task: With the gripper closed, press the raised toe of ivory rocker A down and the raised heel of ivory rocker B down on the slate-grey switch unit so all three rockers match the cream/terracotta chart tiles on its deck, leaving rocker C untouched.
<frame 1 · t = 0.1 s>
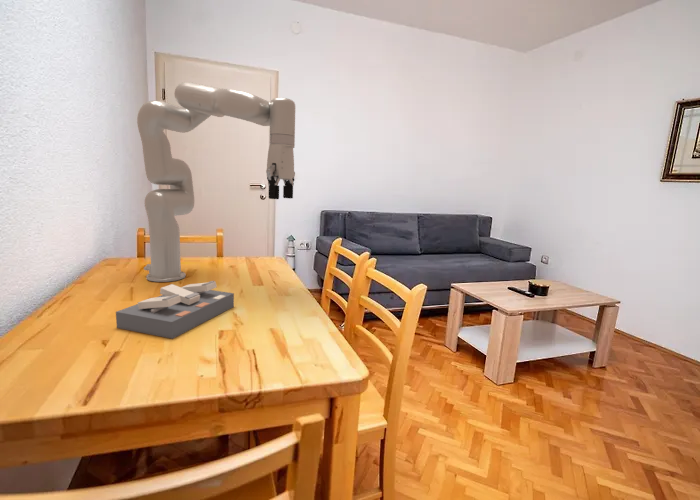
hand: (281, 198, 115), 31 cm above the table, fingers open, 9 cm apart
rocker C: (159, 301, 89), point 6 cm above the table, hinge at -12.0°
rocker B: (180, 293, 96), point 6 cm above the table, hinge at 12.0°
rocker A: (198, 287, 102), point 6 cm above the table, hinge at -12.0°
switch unit: (180, 316, 97), on the table
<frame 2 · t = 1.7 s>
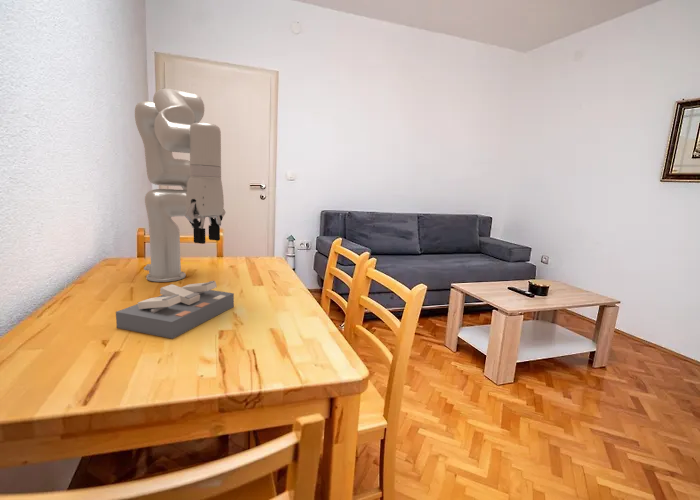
hand: (207, 240, 99), 19 cm above the table, fingers open, 5 cm apart
nothing on the table moved.
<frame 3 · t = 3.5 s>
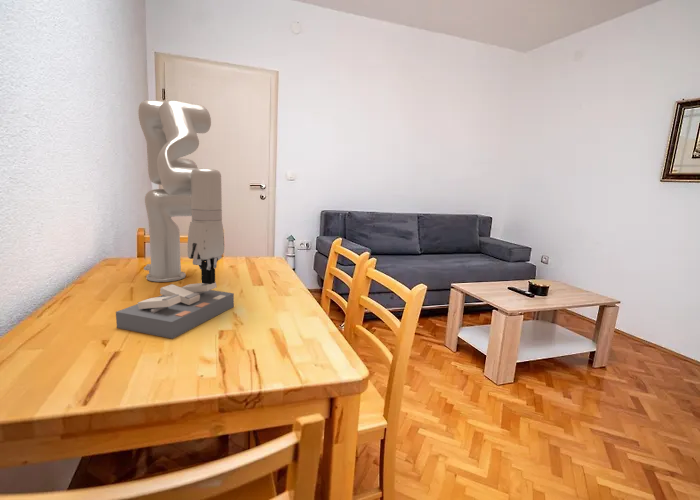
hand: (208, 282, 101), 8 cm above the table, fingers closed
rocker A: (198, 287, 102), point 6 cm above the table, hinge at -11.9°, touching gripper
everything else where it was.
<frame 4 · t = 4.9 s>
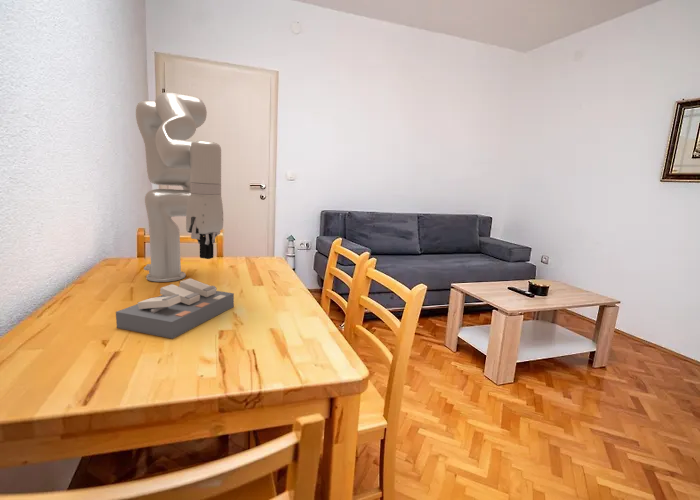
hand: (206, 257, 100), 15 cm above the table, fingers closed
rocker A: (198, 287, 102), point 6 cm above the table, hinge at 11.6°
everything else where it was.
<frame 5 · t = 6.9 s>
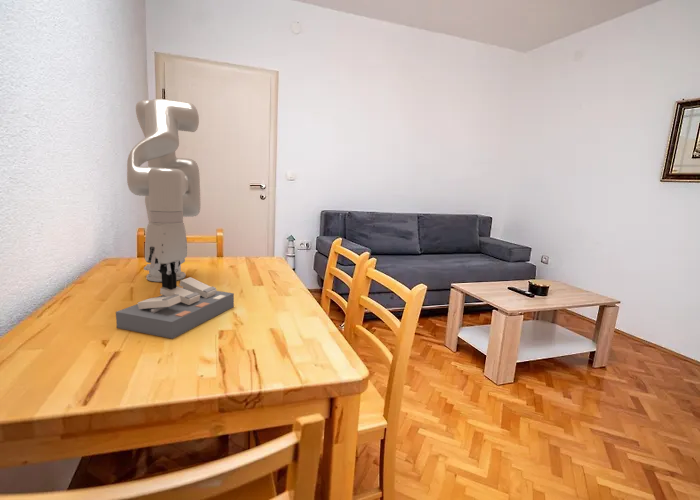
hand: (169, 287, 96), 7 cm above the table, fingers closed
rocker B: (180, 293, 96), point 6 cm above the table, hinge at 11.7°, touching gripper
rocker A: (198, 287, 102), point 6 cm above the table, hinge at 16.2°, touching switch unit
everything else where it was.
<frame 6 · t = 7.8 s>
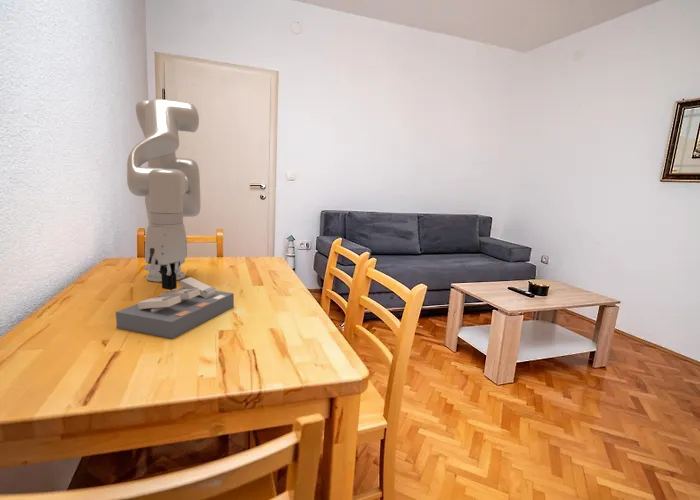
hand: (169, 288, 97), 7 cm above the table, fingers closed
rocker B: (180, 293, 96), point 6 cm above the table, hinge at -10.1°
everything else where it was.
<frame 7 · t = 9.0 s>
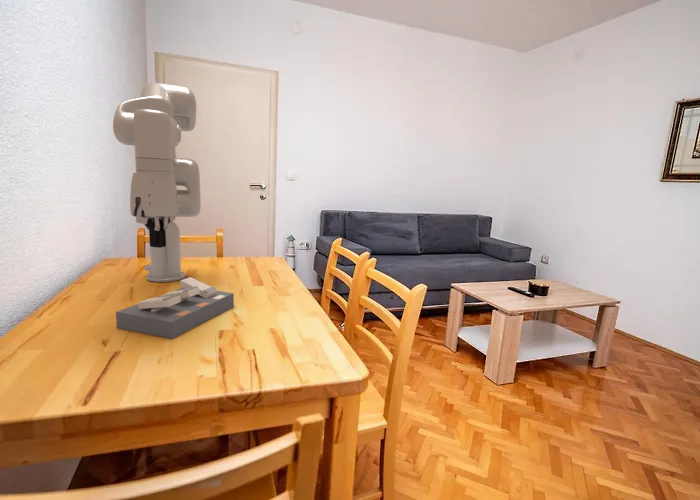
hand: (158, 246, 87), 20 cm above the table, fingers closed
rocker B: (180, 293, 96), point 6 cm above the table, hinge at -16.0°, touching switch unit
everything else where it was.
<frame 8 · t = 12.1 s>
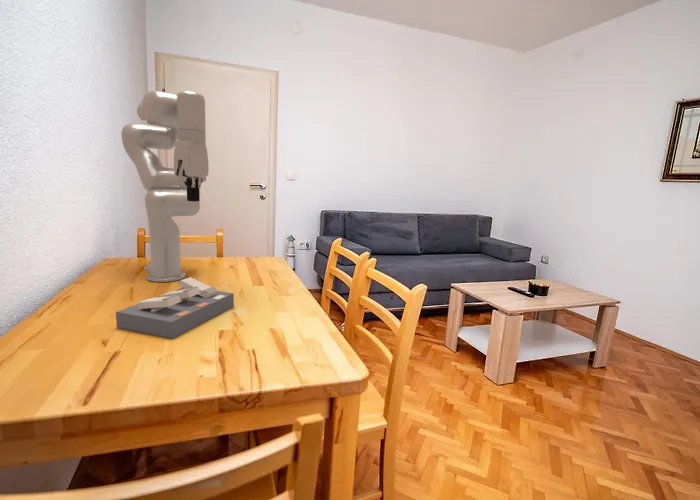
hand: (193, 201, 110), 29 cm above the table, fingers closed
rocker B: (180, 293, 96), point 6 cm above the table, hinge at -14.9°
everything else where it was.
at the end: rocker A at +17° (first picture: -12°); rocker B at -15° (first picture: +12°); rocker C at -12° (first picture: -12°) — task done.
